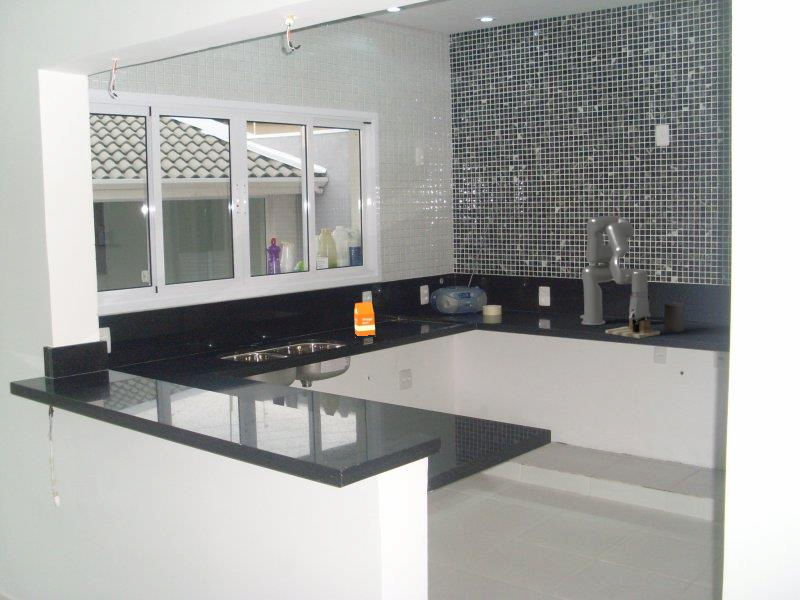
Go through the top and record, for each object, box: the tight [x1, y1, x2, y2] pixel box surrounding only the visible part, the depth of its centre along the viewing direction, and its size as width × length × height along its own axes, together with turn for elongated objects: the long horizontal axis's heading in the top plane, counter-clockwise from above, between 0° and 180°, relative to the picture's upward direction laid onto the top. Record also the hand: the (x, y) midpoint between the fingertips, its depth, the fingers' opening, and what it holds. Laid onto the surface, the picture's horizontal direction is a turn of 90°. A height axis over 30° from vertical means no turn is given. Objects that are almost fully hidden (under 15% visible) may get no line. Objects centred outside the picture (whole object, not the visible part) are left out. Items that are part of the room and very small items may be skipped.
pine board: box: [604, 326, 661, 339], centre depth 437 cm, size 22×15×2 cm
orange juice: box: [353, 301, 376, 336], centre depth 451 cm, size 8×9×20 cm
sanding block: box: [628, 319, 651, 333], centre depth 432 cm, size 9×5×6 cm, turn 34°
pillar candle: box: [663, 301, 685, 333], centre depth 440 cm, size 10×10×15 cm
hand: (639, 330), depth 433 cm, fingers open, 5 cm apart
